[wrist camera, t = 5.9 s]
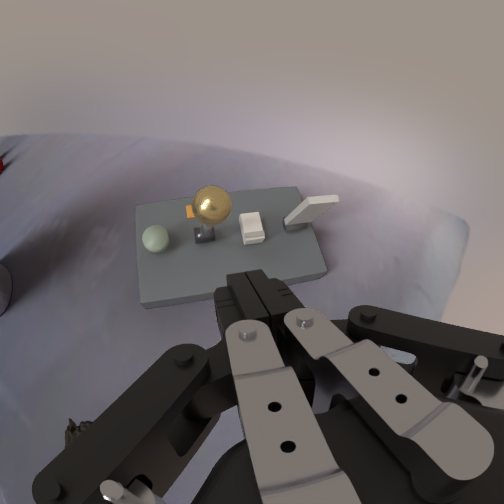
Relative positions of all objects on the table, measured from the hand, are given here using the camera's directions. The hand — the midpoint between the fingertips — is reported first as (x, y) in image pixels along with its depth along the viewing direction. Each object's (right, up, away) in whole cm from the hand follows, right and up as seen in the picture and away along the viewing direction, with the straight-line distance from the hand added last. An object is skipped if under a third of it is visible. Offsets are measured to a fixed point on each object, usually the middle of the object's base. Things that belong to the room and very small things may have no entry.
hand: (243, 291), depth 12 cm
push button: (-12, +2, +22) cm, 25 cm away
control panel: (-3, +2, +26) cm, 27 cm away
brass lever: (-6, +4, +22) cm, 23 cm away
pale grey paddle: (+6, +6, +24) cm, 26 cm away
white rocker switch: (0, +5, +23) cm, 24 cm away
